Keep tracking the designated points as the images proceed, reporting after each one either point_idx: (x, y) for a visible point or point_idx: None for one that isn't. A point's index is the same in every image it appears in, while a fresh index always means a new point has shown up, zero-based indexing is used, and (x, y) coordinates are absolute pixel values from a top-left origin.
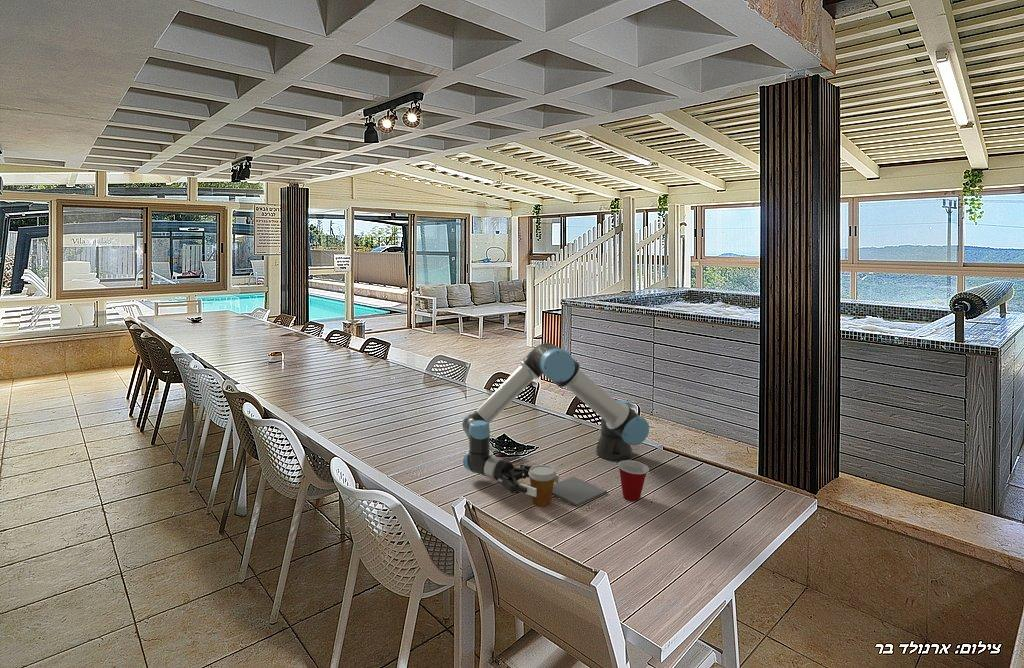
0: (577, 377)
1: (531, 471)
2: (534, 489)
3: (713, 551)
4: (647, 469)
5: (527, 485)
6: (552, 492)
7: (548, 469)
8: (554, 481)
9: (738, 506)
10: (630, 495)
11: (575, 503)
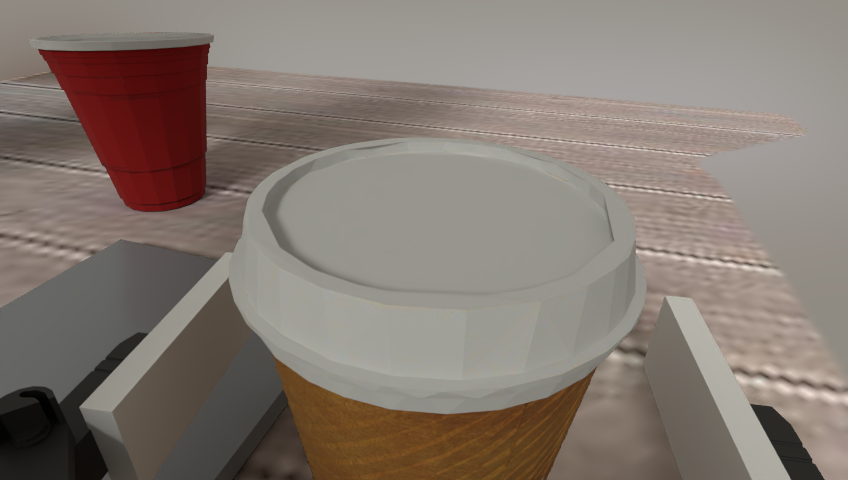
0: None
1: (609, 254)
2: (694, 308)
3: (433, 100)
4: (134, 38)
5: (709, 391)
6: (214, 475)
7: (352, 185)
8: (237, 343)
9: None
10: (204, 167)
11: None
